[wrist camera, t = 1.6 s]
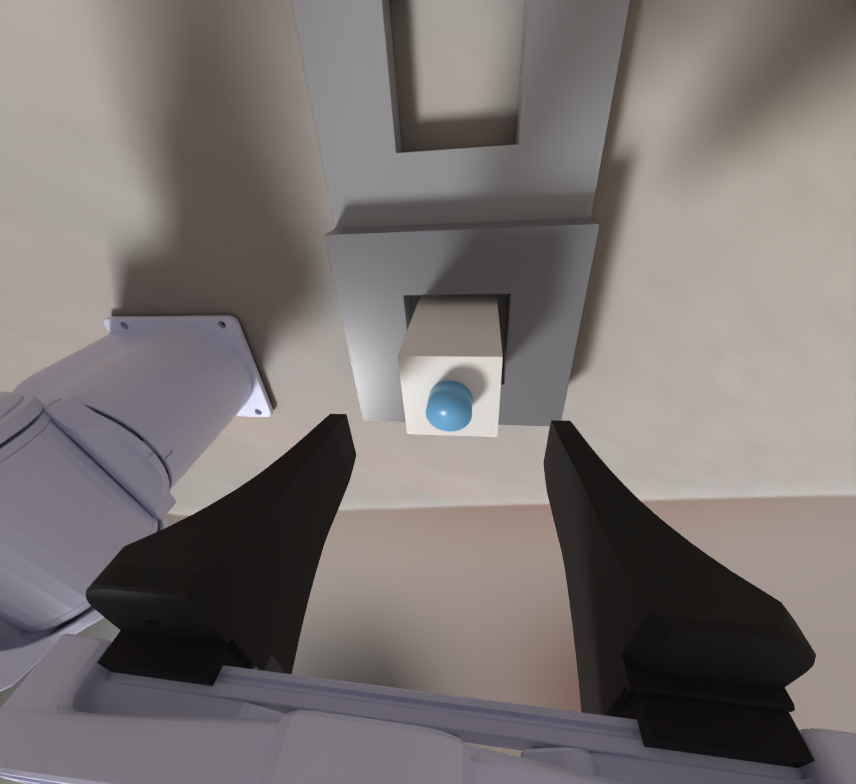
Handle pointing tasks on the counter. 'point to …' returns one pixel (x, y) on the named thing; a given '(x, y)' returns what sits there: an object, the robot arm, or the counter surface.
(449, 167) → the jack panel
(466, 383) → the plug block
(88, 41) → the counter surface
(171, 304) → the counter surface
